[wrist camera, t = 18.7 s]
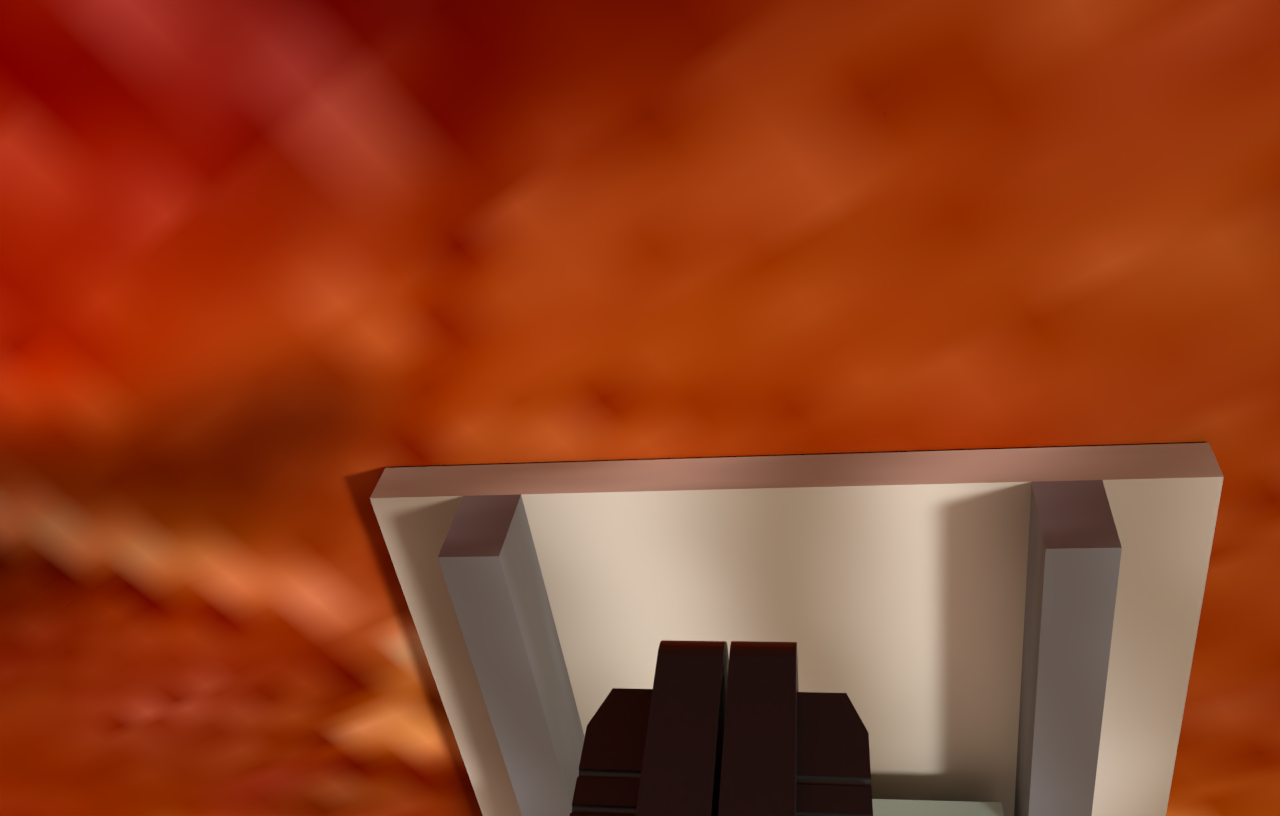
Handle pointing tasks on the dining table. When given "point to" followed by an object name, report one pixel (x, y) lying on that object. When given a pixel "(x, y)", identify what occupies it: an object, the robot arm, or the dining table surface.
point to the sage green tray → (935, 808)
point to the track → (827, 607)
